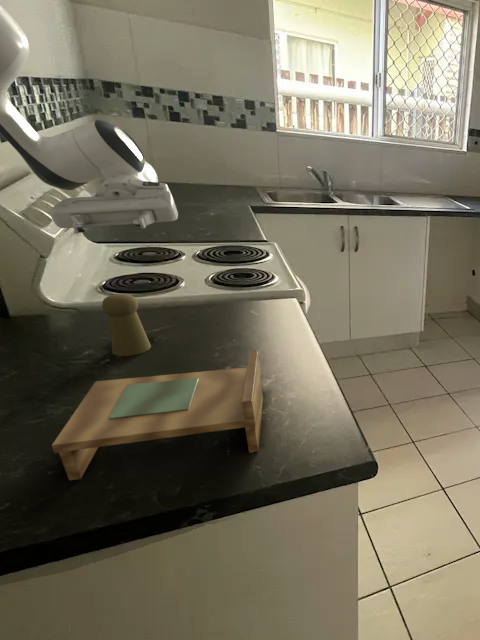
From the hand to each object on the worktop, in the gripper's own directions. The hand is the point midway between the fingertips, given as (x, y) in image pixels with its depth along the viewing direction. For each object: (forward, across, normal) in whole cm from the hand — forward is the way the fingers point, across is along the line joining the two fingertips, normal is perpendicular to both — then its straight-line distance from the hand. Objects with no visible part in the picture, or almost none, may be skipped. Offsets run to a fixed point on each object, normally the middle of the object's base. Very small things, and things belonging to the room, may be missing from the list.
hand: (109, 227), depth 90 cm
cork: (+14, 0, +20) cm, 24 cm away
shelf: (+45, +13, +14) cm, 49 cm away
